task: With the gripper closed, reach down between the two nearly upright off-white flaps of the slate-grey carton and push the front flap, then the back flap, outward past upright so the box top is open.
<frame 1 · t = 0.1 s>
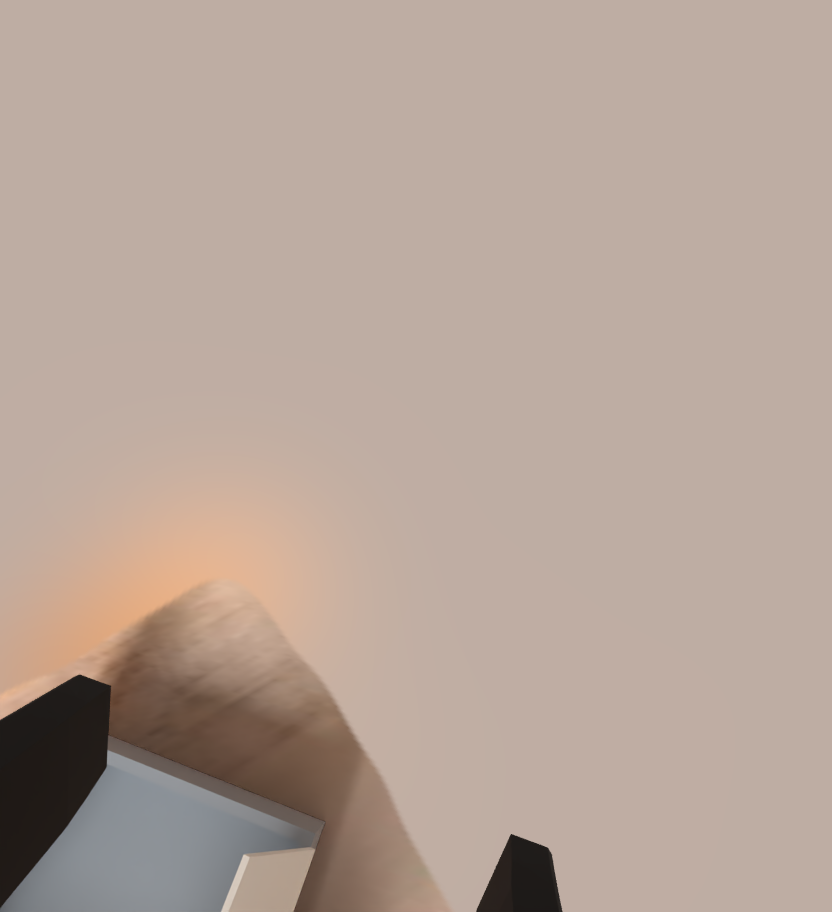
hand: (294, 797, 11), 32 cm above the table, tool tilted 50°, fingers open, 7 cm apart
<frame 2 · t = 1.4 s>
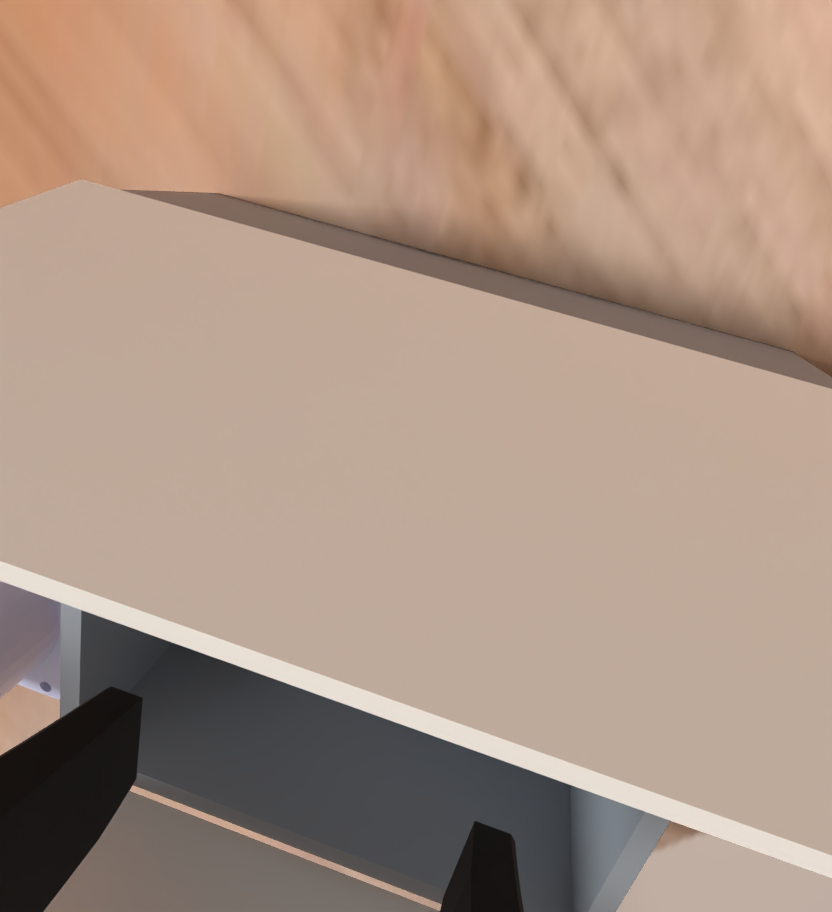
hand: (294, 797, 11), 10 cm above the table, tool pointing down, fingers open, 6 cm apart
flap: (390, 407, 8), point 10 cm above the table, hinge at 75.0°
carton: (420, 520, 20), on the table
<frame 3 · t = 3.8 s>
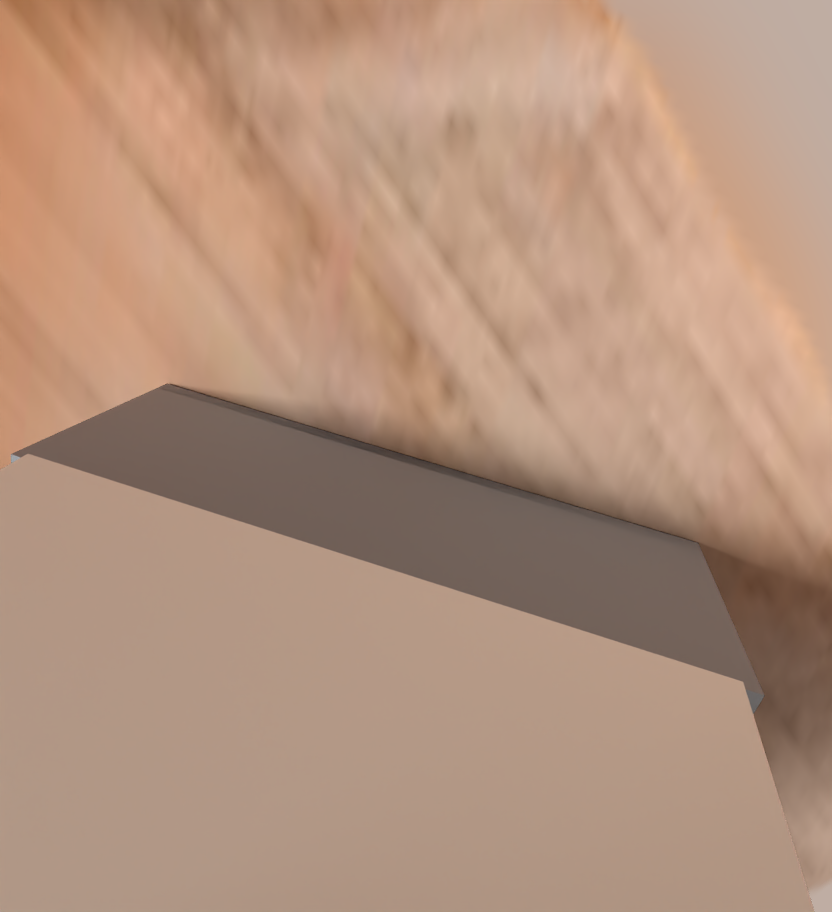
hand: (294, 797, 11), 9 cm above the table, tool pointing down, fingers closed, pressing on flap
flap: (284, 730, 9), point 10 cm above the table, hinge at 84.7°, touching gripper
carton: (366, 670, 21), on the table
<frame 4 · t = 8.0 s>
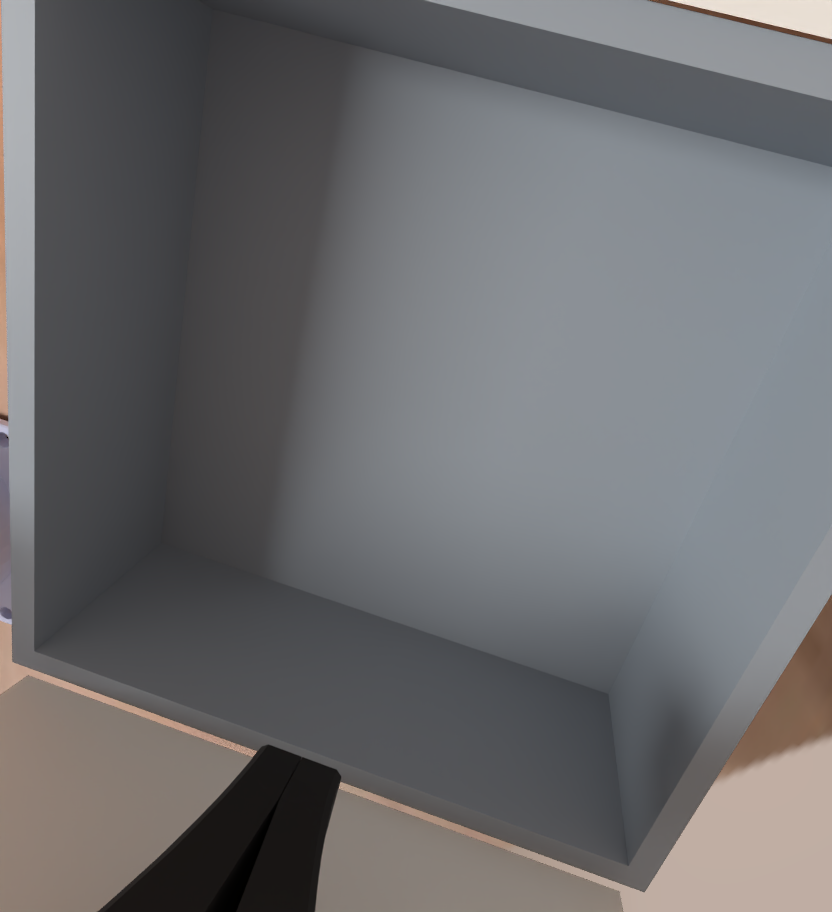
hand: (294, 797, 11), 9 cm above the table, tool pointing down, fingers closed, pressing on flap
carton: (440, 393, 17), on the table
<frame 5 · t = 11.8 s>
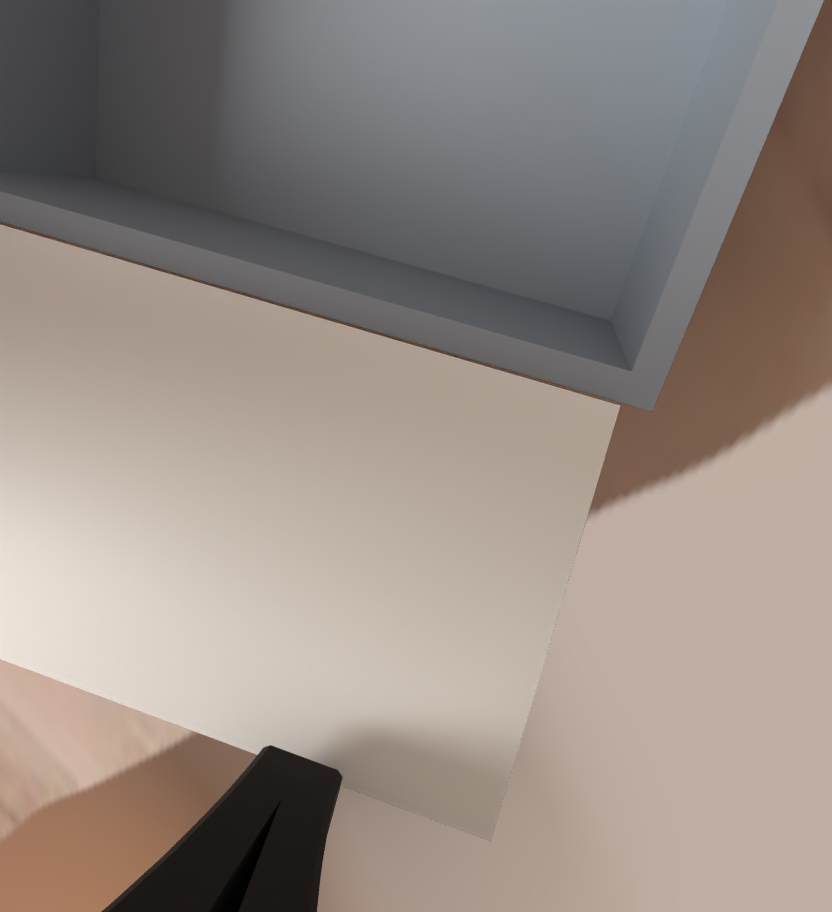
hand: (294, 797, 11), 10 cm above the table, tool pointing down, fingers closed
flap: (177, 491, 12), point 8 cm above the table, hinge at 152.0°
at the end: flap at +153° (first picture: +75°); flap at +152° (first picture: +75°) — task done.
